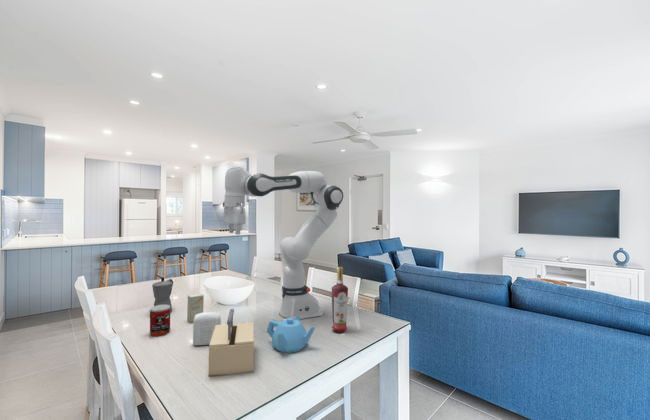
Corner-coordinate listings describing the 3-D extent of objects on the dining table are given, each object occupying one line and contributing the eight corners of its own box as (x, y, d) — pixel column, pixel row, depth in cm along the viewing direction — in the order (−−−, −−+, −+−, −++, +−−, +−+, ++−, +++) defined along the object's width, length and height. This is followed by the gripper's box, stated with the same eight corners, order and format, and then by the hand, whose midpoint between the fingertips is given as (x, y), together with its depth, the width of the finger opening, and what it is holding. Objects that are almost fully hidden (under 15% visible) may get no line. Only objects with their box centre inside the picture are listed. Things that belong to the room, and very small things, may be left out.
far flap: (234, 325, 114) (234, 306, 114) (231, 345, 97) (231, 323, 97) (215, 326, 113) (215, 307, 113) (209, 347, 96) (209, 324, 96)
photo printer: (221, 340, 122) (221, 309, 122) (219, 344, 118) (220, 313, 118) (194, 342, 120) (194, 311, 120) (191, 347, 116) (192, 315, 116)
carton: (253, 346, 116) (253, 321, 116) (253, 371, 99) (253, 341, 99) (215, 350, 113) (215, 324, 113) (208, 376, 95) (208, 345, 95)
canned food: (149, 338, 123) (149, 311, 123) (150, 331, 130) (150, 305, 130) (170, 334, 127) (170, 308, 127) (170, 328, 134) (170, 303, 134)
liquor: (333, 334, 128) (334, 269, 128) (329, 328, 135) (329, 266, 135) (350, 333, 130) (350, 268, 130) (344, 326, 137) (345, 265, 137)
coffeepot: (163, 317, 146) (163, 280, 146) (145, 317, 147) (145, 280, 147) (180, 307, 162) (181, 274, 162) (163, 306, 162) (164, 273, 162)
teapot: (300, 334, 128) (300, 309, 128) (316, 349, 115) (316, 321, 115) (265, 342, 121) (265, 315, 121) (278, 358, 108) (278, 328, 108)
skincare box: (190, 323, 139) (190, 297, 139) (186, 320, 142) (187, 295, 142) (203, 320, 143) (204, 294, 143) (200, 317, 147) (200, 292, 147)
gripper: (249, 203, 129) (249, 235, 129) (234, 203, 146) (234, 231, 146) (234, 202, 126) (234, 235, 126) (221, 203, 143) (221, 232, 143)
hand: (234, 233), depth 136 cm, fingers open, 8 cm apart
